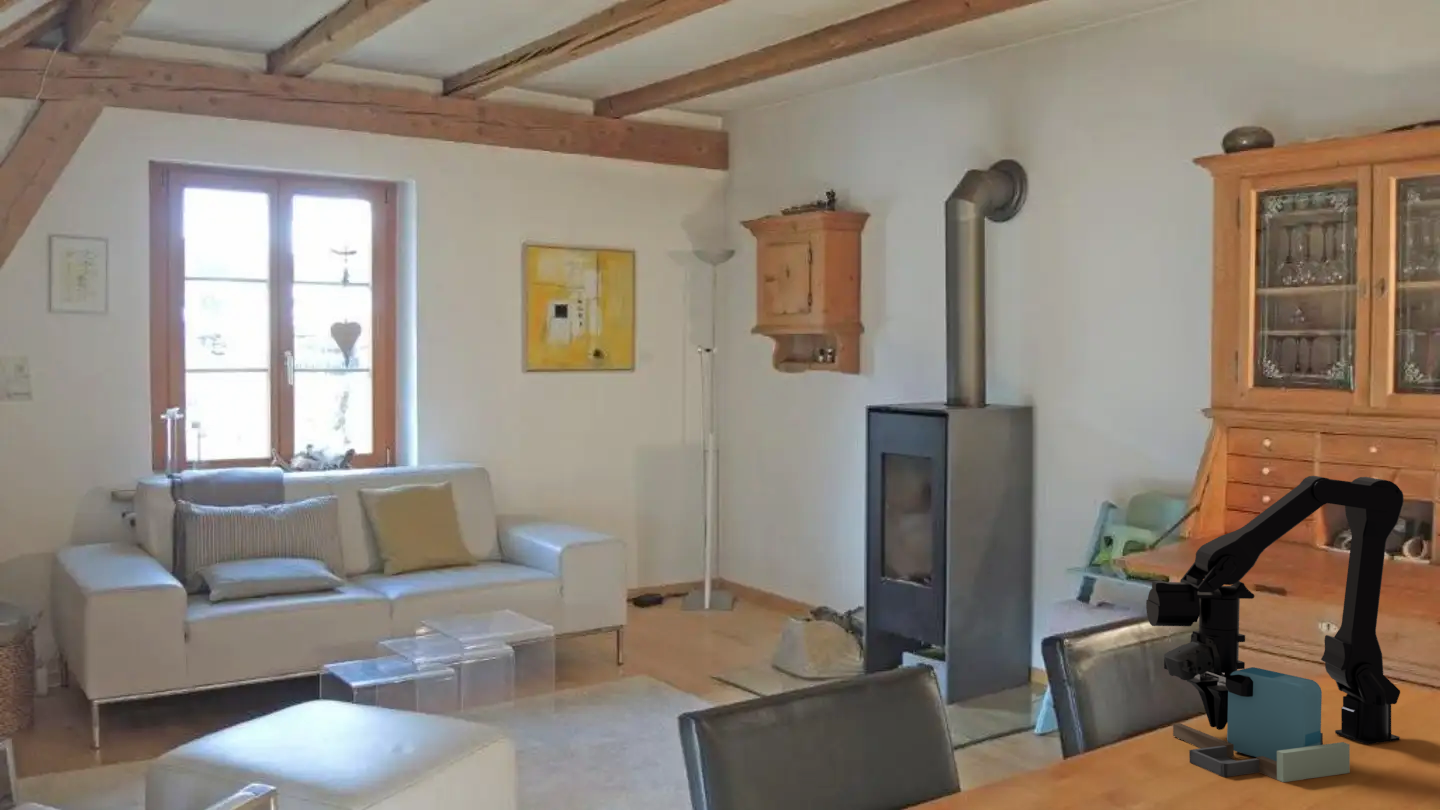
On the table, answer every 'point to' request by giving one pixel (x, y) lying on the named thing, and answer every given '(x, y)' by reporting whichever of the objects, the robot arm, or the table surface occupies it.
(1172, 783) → the table surface
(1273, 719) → the blue rounded slab
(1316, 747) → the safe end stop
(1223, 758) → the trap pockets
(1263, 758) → the lane rails
